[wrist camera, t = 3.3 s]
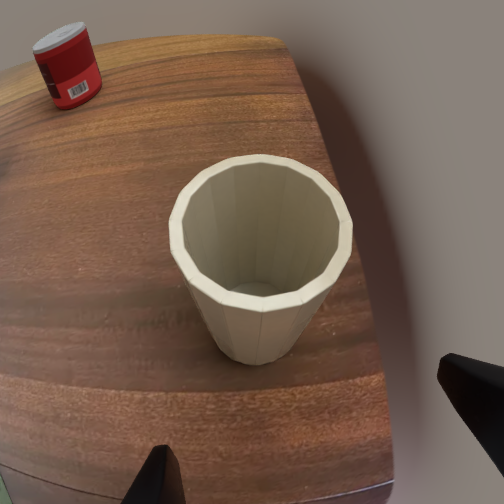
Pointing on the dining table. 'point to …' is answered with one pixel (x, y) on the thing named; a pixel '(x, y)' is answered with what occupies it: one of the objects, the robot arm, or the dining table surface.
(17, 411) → the dining table surface
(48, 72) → the canned food
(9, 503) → the scale
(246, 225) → the cup
